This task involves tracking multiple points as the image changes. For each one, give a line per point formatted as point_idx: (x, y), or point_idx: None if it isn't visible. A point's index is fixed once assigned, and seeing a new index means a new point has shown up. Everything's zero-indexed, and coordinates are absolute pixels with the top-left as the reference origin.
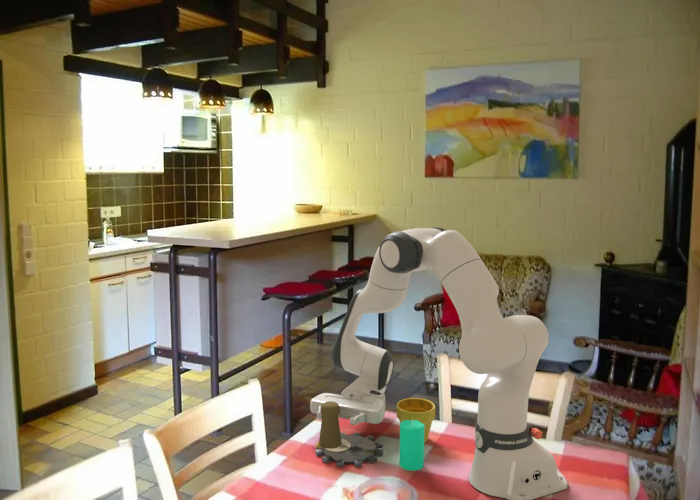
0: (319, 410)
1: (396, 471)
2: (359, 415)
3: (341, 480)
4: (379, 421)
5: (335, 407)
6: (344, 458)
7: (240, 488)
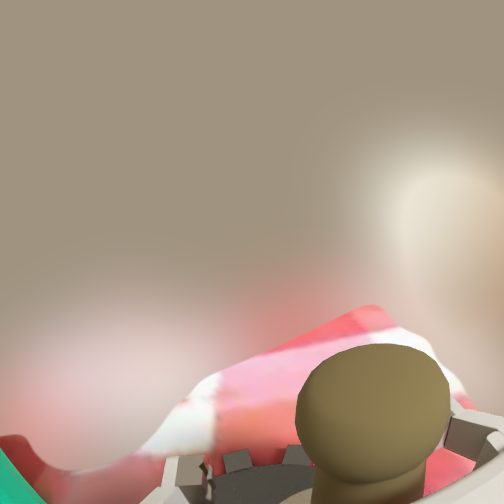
0: (460, 406)
1: (68, 492)
2: (152, 502)
3: (203, 417)
4: None
5: (307, 381)
6: (235, 478)
7: (368, 313)
